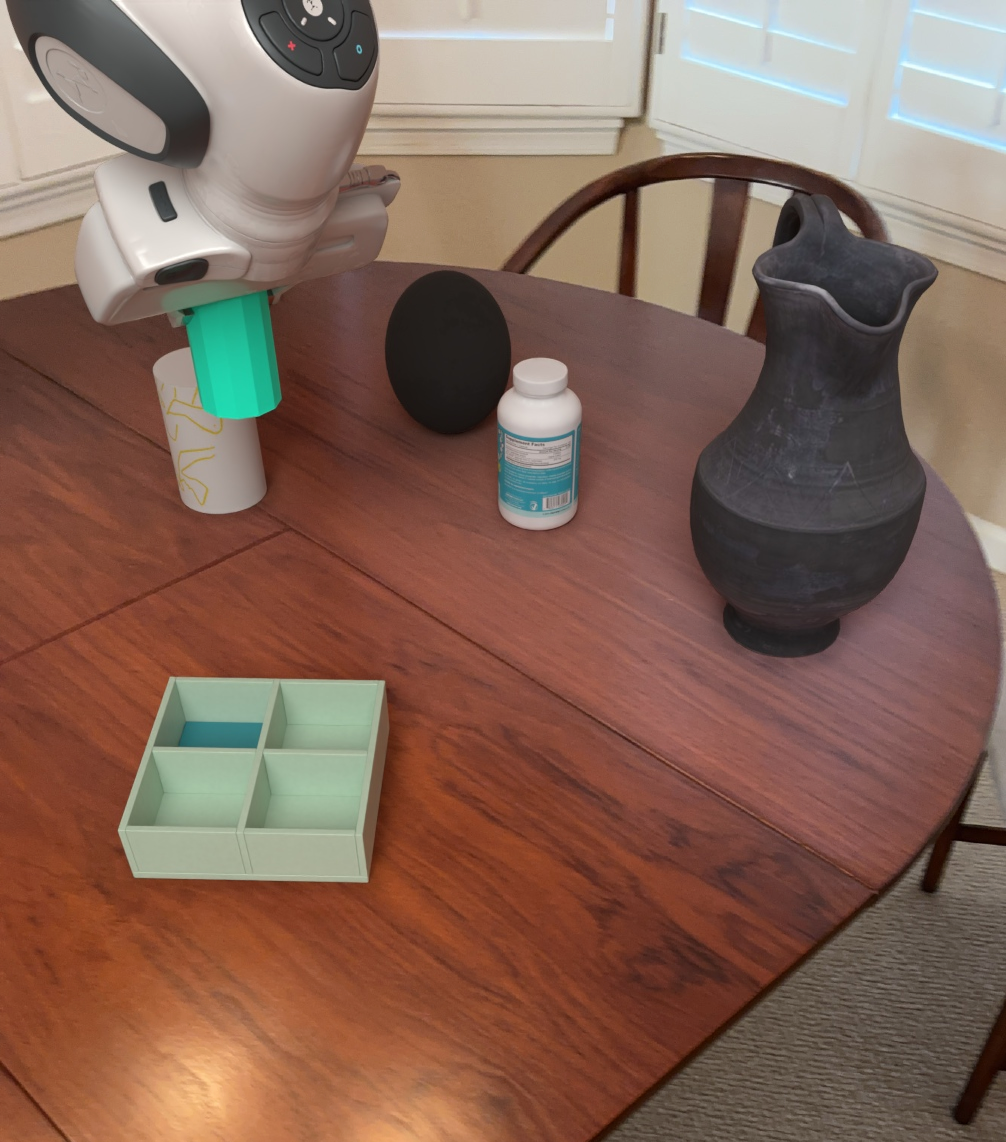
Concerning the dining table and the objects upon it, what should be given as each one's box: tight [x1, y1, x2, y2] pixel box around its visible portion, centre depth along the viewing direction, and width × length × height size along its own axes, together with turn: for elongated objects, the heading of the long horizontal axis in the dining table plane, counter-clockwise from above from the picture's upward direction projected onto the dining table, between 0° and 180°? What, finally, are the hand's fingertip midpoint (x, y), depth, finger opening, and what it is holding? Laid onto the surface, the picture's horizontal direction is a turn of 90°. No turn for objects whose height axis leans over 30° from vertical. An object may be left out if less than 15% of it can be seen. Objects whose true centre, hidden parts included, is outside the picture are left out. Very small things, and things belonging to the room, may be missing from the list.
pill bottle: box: [496, 357, 583, 531], centre depth 105 cm, size 8×7×14 cm
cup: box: [152, 346, 268, 515], centre depth 108 cm, size 8×8×12 cm
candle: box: [185, 290, 283, 419], centre depth 83 cm, size 6×6×12 cm
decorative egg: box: [384, 269, 512, 434], centre depth 115 cm, size 12×12×15 cm
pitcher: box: [689, 192, 939, 658], centre depth 89 cm, size 17×21×30 cm
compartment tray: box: [117, 676, 390, 884], centre depth 83 cm, size 16×16×5 cm
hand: (220, 305), depth 83 cm, fingers closed on candle, 5 cm apart
